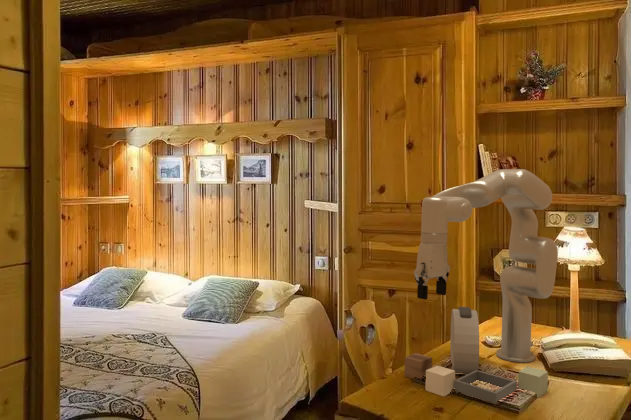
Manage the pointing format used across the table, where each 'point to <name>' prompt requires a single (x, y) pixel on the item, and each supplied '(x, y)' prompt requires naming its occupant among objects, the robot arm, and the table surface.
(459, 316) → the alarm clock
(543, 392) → the sage block
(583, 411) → the table surface
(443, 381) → the cream block
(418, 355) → the walnut block
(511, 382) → the grey tray
